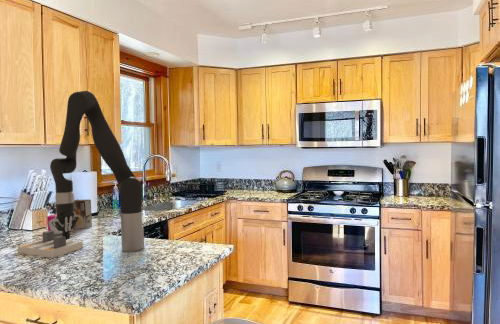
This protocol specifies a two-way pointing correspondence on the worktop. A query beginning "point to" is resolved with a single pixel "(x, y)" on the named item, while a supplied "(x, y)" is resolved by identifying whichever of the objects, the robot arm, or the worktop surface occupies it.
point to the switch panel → (48, 248)
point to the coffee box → (83, 213)
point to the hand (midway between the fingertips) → (66, 239)
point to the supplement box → (50, 225)
